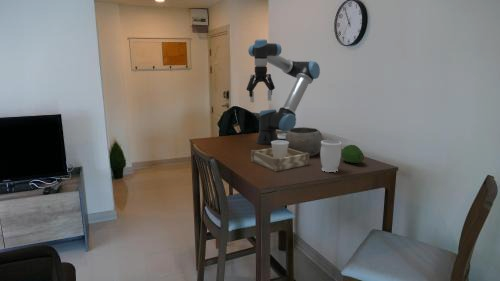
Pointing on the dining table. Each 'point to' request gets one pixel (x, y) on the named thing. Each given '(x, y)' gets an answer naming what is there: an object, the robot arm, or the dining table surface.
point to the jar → (330, 155)
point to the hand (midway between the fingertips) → (261, 101)
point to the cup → (279, 148)
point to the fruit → (352, 154)
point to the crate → (279, 159)
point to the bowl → (305, 140)
